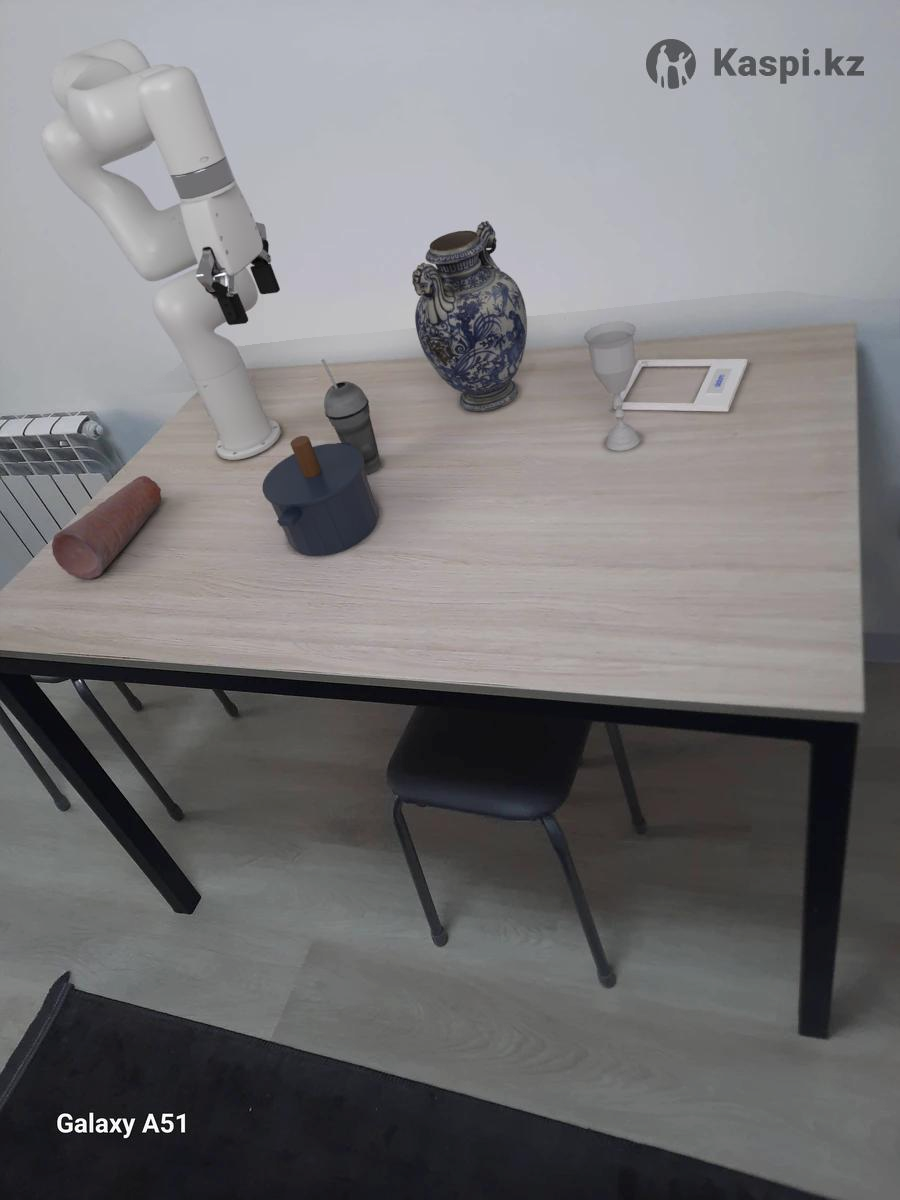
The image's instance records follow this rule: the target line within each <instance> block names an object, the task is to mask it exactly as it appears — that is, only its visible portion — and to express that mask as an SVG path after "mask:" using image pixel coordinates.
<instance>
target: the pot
mask: <svg viewBox="0 0 900 1200" xmlns="http://www.w3.org/2000/svg"><path fill="white" fill-rule="evenodd" d="M336 443H337V444H346V445H350V443H341V442H336ZM350 446H351V445H350ZM270 504H271V506H272V508H273V510H274V512H275V515H276V517H277V524H278V526H279V527H281V528H282V530H283V532H284V534H285V537H286V539H287V541H288V543H289V546H290V547H291V548H292V549H293V550H294V551H295V552H296V553H298V554H300V555H303V556H308V557H325V556H331V555H334V554H338V553H342V552H344V551H346V550H349V549H351V548H353V547H355V546H356V545H358V544H360V543H361V542H362V541H364V540H365V539H366V538H367V537H368V536H370V534H372V532H373V531H374V530H375V528H376V526H377V524H378V523H379V519H380V513H379V507H378V505H377V502H376V499H375V496H374V494H373V491H372V488H371V485H370V482H369V480H368V477H367V474H366V473H365V471H364V468H363V470H362V472H361V474H360V475H359V477H358V478H357V479H356V480H355V481H354V482H353V483H352V484H351V485H350V486H349V487H348V488H346V489H345V490H344V491H342V492H340V493H339V494H337V495H335V496H333V497H331V498H329V499H327V500H324V501H322V502H319V503H316V504H312V505H308V506H302V507H281V506H277V505H274V504H272V503H270Z"/></svg>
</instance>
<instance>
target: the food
mask: <svg viewBox="0 0 900 1200" xmlns="http://www.w3.org/2000/svg"><path fill="white" fill-rule="evenodd" d="M161 491H162V489H161V487H160V486H159V485H158V484H157V482H156V481H154V480H153V479H151V478H150V477H148V475H147V476H146V475H142V476H138V477H136V478H135V479H133V480H132V481H131V482H129V483H127V484H126V485H125V486H123V487H122V488H120V489H119V490H118V491H116V492H115V493H113V494H112V495H110V496H109V497H108V498H107V499H106V500H105V501H103V502H101V503H99V504H98V505H97V506H95V507H94V508H93V509H92V510H90V511H89V512H87V513H85V514H84V515H83V516H82V517H81V518H79V519H77V520H76V521H75V522H73V523H71V524H70V525H69V526H67V527H65V528H63V529H61V530H60V531H58V532H57V533H55V535H54V536H53V539H52V543H51V550H52V556H53V557H54V559H55V561H56V563H57V564H58V566H59V567H60V568H62V569H63V570H64V571H65V572H66V573H68V575H70V576H74V577H76V578H78V579H87V580H93V579H95V578H97V577H99V576H101V575H102V574H103V573H104V571H105V570H106V569H107V568H108V567H109V566H110V565H111V564H112V562H113V561H114V560H115V559H116V558H117V556H118V555H119V554H120V553H121V552H122V551H123V550H124V549H125V547H126V546H127V545H128V544H129V543H130V542H131V540H132V539H133V537H134V536H135V535H136V534H137V533H138V532H139V531H140V529H141V528H142V527H143V525H144V524H145V523H146V521H147V520H148V519H149V517H150V516H151V515H153V513H154V512H155V511H156V509H157V508H158V507H159V505H161V502H162V495H161Z"/></svg>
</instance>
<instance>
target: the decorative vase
mask: <svg viewBox="0 0 900 1200" xmlns="http://www.w3.org/2000/svg"><path fill="white" fill-rule="evenodd" d="M497 242H498V240H497V237H496V231H495V229H494V228H493V226H492V224H490V221H488V220H485V221H481V222H480V224H478V225H477V228H476V230H475V231H474V230H457V231H452V232H449V233H446V234H444V235H441V236H438V237H437V238H436V239H434V240H433V241H431V243H430V244H429V249H428V250H427V252H426V253H425V260H426V262H428V263H425V262H421V263H420V264H418V265H417V266H416V269H415V270H413V271H412V275H411V279H412V282H411V283H412V285H413V287H414V291H415V293H416V295H417V296H419V299H418V301H417V304H416V308H415V313H414V314H415V315H414V322H415V329H416V334H417V338H418V340H419V343H420V347H421V348H422V351H423V354H424V355H425V357H426V359H427V360H428V362H429V364H430V365H431V367H432V368H433V369H434V370H435V372H436V373H437V374H438V376H439V377H440V378H441V379H442V381H444V382H445V383H446V384H447V385H448V386H450V387H451V388H452V389H454V390H455V391H458V392H460V393H461V395H460V398H459V403H460V406H461V408H462V409H464V410H465V411H468V412H471V413H473V412H474V413H484V412H490V411H494V410H497V409H500V408H503V407H504V406H506V405H508V404H509V403H511V402H512V401H513V400H515V398H516V397H517V395H518V393H519V388H518V385H517V384H516V382H515V381H514V380H513V379H514V378H515V376H516V375H517V373H518V372H519V368H520V366H521V364H522V361H523V357H524V354H525V349H526V344H527V343H526V342H527V335H528V317H527V309H526V303H525V300H524V297H523V294H522V291H521V290H520V287H519V285H518V284H517V282H516V281H515V280H514V278H512V277H511V276H510V275H509V274H508V273H506V272H504V271H502V270H501V268H500V267H499V266H498V265H497V264H496V262H495V261H494V259H493V257H492V256H491V254H493V253H494V252H495V251H496V249H497Z"/></svg>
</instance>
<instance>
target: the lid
mask: <svg viewBox="0 0 900 1200" xmlns="http://www.w3.org/2000/svg"><path fill="white" fill-rule="evenodd" d="M337 443H338V442H336V443H334V442H333V443H323V444H318V445H313V444H312V442H311V440H310V437H309V436H308V435H300V436H297V437H295V438H293V439H291V441H290V447H291V449H292V452H293V454H291V455H289V456H288V457H285V458H284V459H282V460H281V461H279V462H278V463H277V464H276V465H275V466H273V467H272V468H271V469H270V471H268V473H267V475H266V476H265V478H264V479H263V482H262V487H261V488H262V489H261V490H262V494H263V496H264V497H265V499H266V500H267V501H268V502H269V503H270V504H271V503H272V504H274V505H277V506H281V507H302V506H308V505H312V504H316V503H319V502H322V501H324V500H327V499H329V498H331V497H333V496H335V495H337V494H339V493H340V492H342V491H344V490H345V489H346V488H348V487H349V486H350V485H351V484H352V483H353V482H354V481H355V480H356V479H357V478H358V477H359V475H360V474H361V472H362V470H363V466H364V460H363V457H362V454H361V453H360V451H359V450H358V449H356V448H355V447H353V446H350V445H346V444H337ZM272 504H271V505H272Z"/></svg>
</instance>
